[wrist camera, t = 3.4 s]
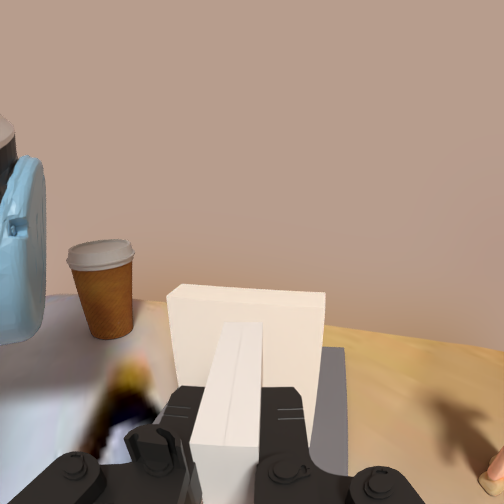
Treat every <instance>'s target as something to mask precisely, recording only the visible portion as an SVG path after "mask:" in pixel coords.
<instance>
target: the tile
mask: <svg viewBox="0 0 504 504" xmlns="http://www.w3.org/2000/svg"><path fill="white" fill-rule="evenodd" d="M167 306H168V315H169V323H170V331H171V339H172V346H173V353H174V360H175V367H176V374H177V380H178V386H179V387H180V386H182V385H184V386H199V387H205V386H206V383H207V379H208V376H209V372H210V369H211V366H212V362H213V359H214V355H215V352H216V348H217V345H218V341H219V338H220V334H221V331H222V327H223V324H224V322H263V387H294V388H295V389H296V390H297V391H298V393H299V394H300V395H301V396H302V403H303V410H304V419H305V424H306V432H307V439H308V447H310V441H311V434H312V427H313V420H314V413H315V405H316V397H317V389H318V380H319V371H320V361H321V351H322V341H323V329H324V315H325V293H322V292H321V293H320V292H301V291H281V290H264V289H248V288H233V287H219V286H205V285H192V284H181V285H180V286H178V287H177V288H176V289H175V290H173V291H172V292H171V293H169V294H168V295H167Z"/></svg>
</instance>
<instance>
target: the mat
mask: <svg viewBox="0 0 504 504" xmlns="http://www.w3.org/2000/svg"><path fill="white" fill-rule="evenodd" d="M178 388H179V387H178ZM178 388H177V389H178ZM168 402H169V401H168ZM167 404H168V403H167ZM167 404H166V405H165V407H164V408H163V410H162V411H161V413H160V414H159V415H158V417H157V418H156V420H155V421H154V422H153V424H159V423H160V421H161V418H162V416H163V415H164V414H163V413H164V411H165V409H166V407H167ZM309 454H310V457H311V460H312V461H313V462H314V464H315V465H316V466H317V467H319V468H320V469H321V470H324V471H326V472H328V473H331V474H336V475H342V476H348V417H347V389H346V369H345V353H344V348H340V347H322V351H321V361H320V371H319V380H318V389H317V397H316V405H315V413H314V420H313V427H312V434H311V441H310V447H309Z"/></svg>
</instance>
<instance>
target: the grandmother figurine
mask: <svg viewBox="0 0 504 504" xmlns="http://www.w3.org/2000/svg"><path fill="white" fill-rule="evenodd" d="M489 465H490V466H489V468H488V471H486V472H484V473H483V474H481V475H480V477H479V483H480V484H481V486H482V487H483V488H484V489H485V491H486V492H487V493H488V494H490V495H492V496H497V495H499V494H501V493H502V492H503V491H504V446H503V448H502V449H501V450H500V452H499V453H498V455H495V456H493V457H492V458H491V460H490V462H489Z"/></svg>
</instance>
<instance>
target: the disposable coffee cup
mask: <svg viewBox="0 0 504 504" xmlns="http://www.w3.org/2000/svg"><path fill="white" fill-rule="evenodd" d="M68 252H69V253H68V258H67V260H66V261H67V263H68V264H69V267H70V268H71V270H72V274H73V278H74V281H75V285H76V288H77V292H78V295H79V298H80V301H81V304H82V308H83V310H84V314H85V317H86V320H87V322H88V325H89V328H90V331H91V334H92V335H93V336H94V337H96V338H99V339H115V338H119V337H122V336H125V335H127V334H128V333H130V332H131V330H132V329H133V316H132V260H133V256H134V254H135V251H134V250H133V249H132V246H131V243H130V242H129V241H126V240H118V239H111V240H98V241H92V242H86V243H82V244H79V245H76V246H73V247H71V248H70V249H69V251H68Z"/></svg>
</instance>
